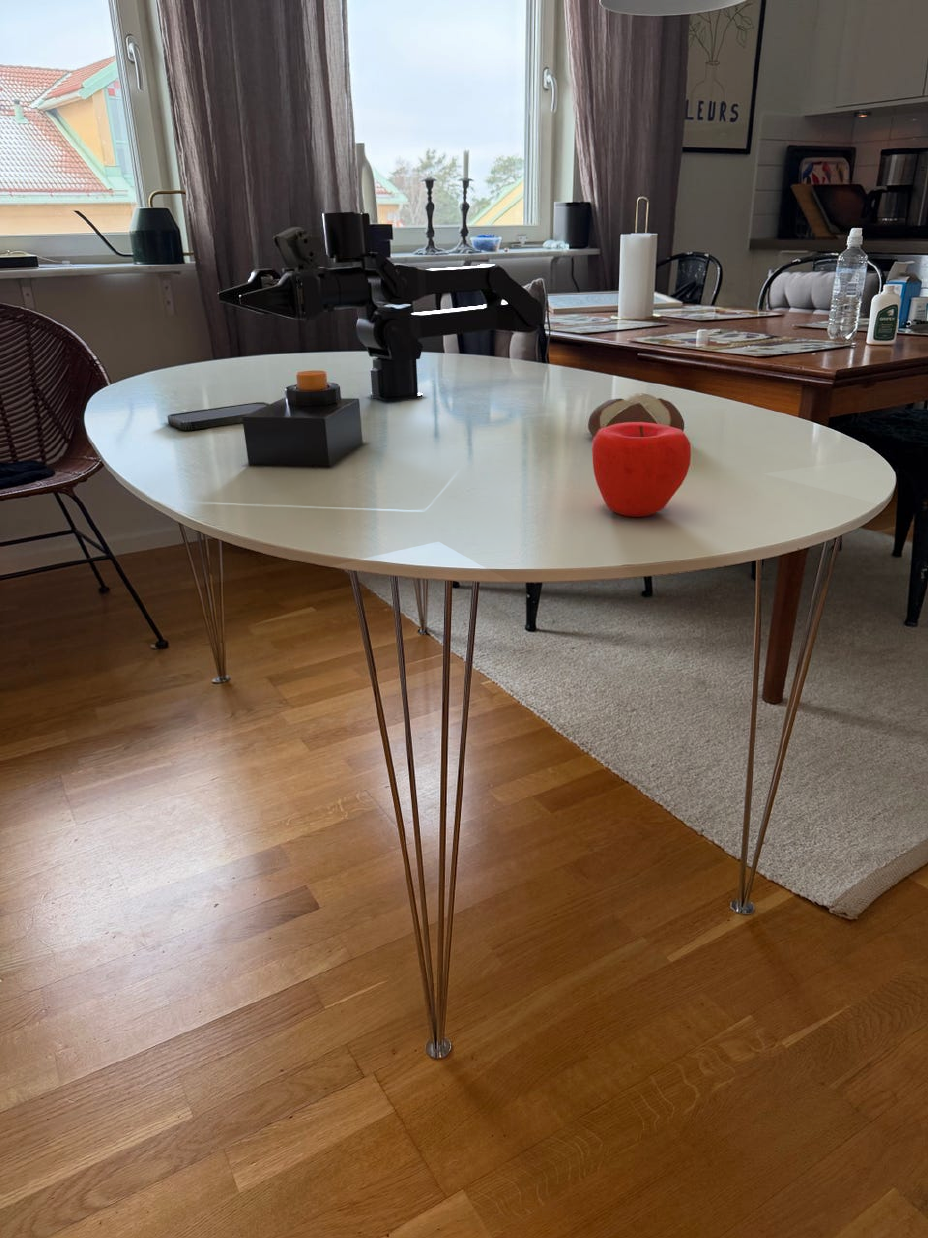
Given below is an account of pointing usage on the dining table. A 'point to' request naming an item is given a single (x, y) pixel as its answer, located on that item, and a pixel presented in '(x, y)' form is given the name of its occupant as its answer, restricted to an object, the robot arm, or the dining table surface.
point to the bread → (635, 412)
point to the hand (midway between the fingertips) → (228, 298)
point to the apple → (639, 466)
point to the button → (311, 380)
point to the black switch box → (304, 429)
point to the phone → (213, 416)
